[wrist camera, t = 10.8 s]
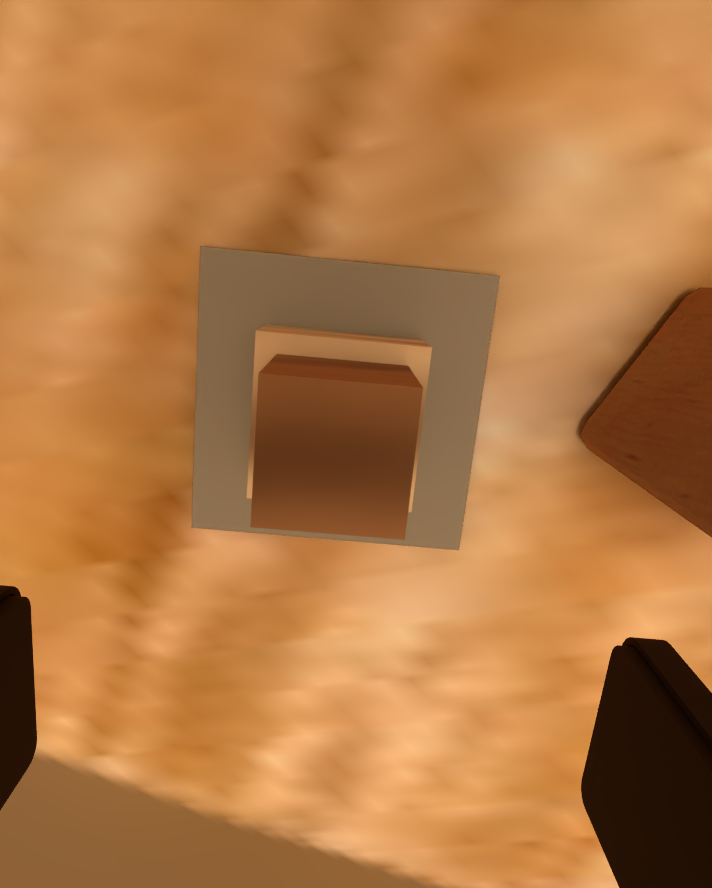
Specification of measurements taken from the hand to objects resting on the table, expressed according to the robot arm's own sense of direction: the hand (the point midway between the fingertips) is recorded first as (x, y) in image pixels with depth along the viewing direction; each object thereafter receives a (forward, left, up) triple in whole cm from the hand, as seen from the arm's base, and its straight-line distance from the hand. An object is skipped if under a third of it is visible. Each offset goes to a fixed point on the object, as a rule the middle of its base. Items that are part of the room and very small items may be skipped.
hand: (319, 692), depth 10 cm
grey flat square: (0, 0, -25) cm, 25 cm away
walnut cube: (0, 0, -20) cm, 20 cm away
